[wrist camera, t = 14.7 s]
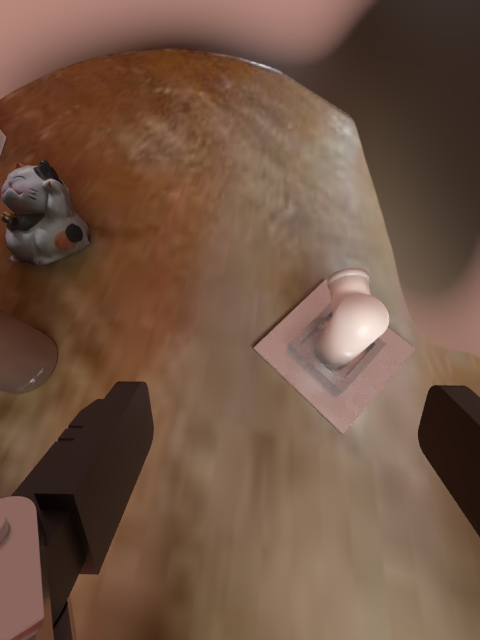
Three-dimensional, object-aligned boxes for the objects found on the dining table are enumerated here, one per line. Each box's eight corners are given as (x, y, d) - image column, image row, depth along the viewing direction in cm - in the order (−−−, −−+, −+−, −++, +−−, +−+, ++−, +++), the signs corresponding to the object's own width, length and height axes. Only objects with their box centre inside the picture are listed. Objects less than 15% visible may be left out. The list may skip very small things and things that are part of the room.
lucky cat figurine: (-1, 257, 52) (-55, 168, 43) (64, 233, 59) (29, 153, 51) (44, 277, 44) (-9, 176, 36) (111, 247, 52) (80, 157, 44)
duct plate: (253, 349, 43) (253, 343, 41) (324, 281, 47) (329, 272, 45) (341, 434, 39) (347, 433, 36) (412, 350, 43) (423, 344, 40)
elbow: (355, 368, 41) (393, 339, 30) (316, 368, 41) (340, 338, 30) (347, 310, 45) (379, 264, 33) (312, 310, 45) (331, 264, 34)
